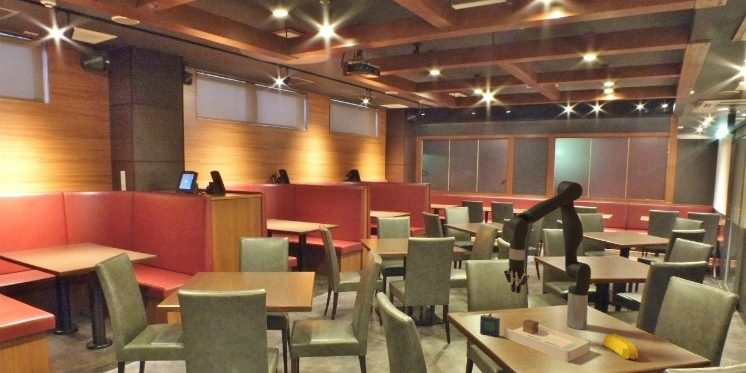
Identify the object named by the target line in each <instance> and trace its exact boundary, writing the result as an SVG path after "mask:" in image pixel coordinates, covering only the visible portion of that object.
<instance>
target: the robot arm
mask: <svg viewBox="0 0 746 373" xmlns="http://www.w3.org/2000/svg"><path fill="white" fill-rule="evenodd" d="M583 191H584V189H583V187H582V185H581V184H580V183H578V182H574V181H569V180H568V181H567V180H562V181H560V182H559V183H558V185H557V188H556V194H557V195H555V196H552V197H551V198H547V199H545V200H543V201H540V202H538V203H536V204H533V206H531V207H530V208H528V209H526V210H525V211H523V212H521V213H520V212H519V213H518V214H516V215H515V216H513V217H511V218H510V220H509V221H508V227H509V229H510V230H512V231H513V236H512V237H510V240H509V252H508V269H506V270H504V271H503V273H504V276H505V278H506V280H507V282H508V283H510V285H511V286H510V290H511V292H512V293H515V294H520V293H521V291H522V290H521V289H522V287H521V286H525V284H526V283H527V281H528V280H529V278H530V276H529V274H526V271H525V268H526V267H525V266H526V238H527V235H528V230H529V225H530V224H533V223H537V222H538V221H539V220H541V219H543V218H544V217H546V216H547V215H549V214H551V213H552V212H554V211H555V210H557V209H559V208H560V215H561V223H562V224H561V225H562V226H561V227H562V236H563V243H564V266H565V267H564V270H565V273H566V276H567V277H568V278H569V279H572V280H576V283H575V284H574V285H570V286H568V288H567V313H566V326H568V327H569V328H572V329H576V330H585V329H587V327H588V311H589V310H588V303H589V302H588V299H589V297H588V296H589V291H590V288H591V278H592V269H591V266H590V265H589V264H587V263H585V262H581V261H578V249H579V247H580V246H581V243H583V242H582V241H583V240H584V229H583V224H582V220H581V219H580V216H579V214H578V212H577V210H576V208H575V202H574V201H577V200H578V199H579V198H581V197H582V194H583ZM528 224H529V225H528Z"/></svg>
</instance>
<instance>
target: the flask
mask: <svg viewBox="0 0 746 373" xmlns="http://www.w3.org/2000/svg"><path fill="white" fill-rule="evenodd" d="M492 315H493V313H492V312H489V313H488V314H481V315H480V321H479V323H480V324H479V334H480V335H483V336H486V337H487V336H488V337H489V336H490V337H496V338H497V337H498V338H499V337H500V332H501V331H500V330H501V326H500V325H501V317H500V316H492Z"/></svg>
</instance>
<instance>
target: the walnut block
mask: <svg viewBox="0 0 746 373" xmlns="http://www.w3.org/2000/svg"><path fill="white" fill-rule="evenodd" d="M538 325H539V321H538V320H534V319H531V318H528V319H525V320H523V321H522V327H523V331H524V332H527V333H529V334H535V333H537V332H538Z"/></svg>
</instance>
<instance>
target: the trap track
mask: <svg viewBox="0 0 746 373" xmlns="http://www.w3.org/2000/svg"><path fill="white" fill-rule="evenodd" d="M503 338H505V339H507V340H510V341H512V342H514V343H517V344H520V345H522V346H525V347H528V348H530V349H532V350H536V351H538V352H541V353H543V354H545V355H548V356H551V357H553V358H556V359H559V360H561V361H564V362H566V363H569V362H572V361H573V360H576V359H578V358H580V357H581V356H584V355H586V354H588V353H590V350H591V341H588V340H585V339H582V338H580V337H576V336H573V335H571V334H567V333H565V332H562V331H558V330H555V329H552V328H549V327H546V326H544V325H541V324H538V332H537V333H535V334H529V333H527V332H524V331H523V326H521V327H517V328H514V329H513V330H512V329H510V328H508V327H504V328H503Z"/></svg>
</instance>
